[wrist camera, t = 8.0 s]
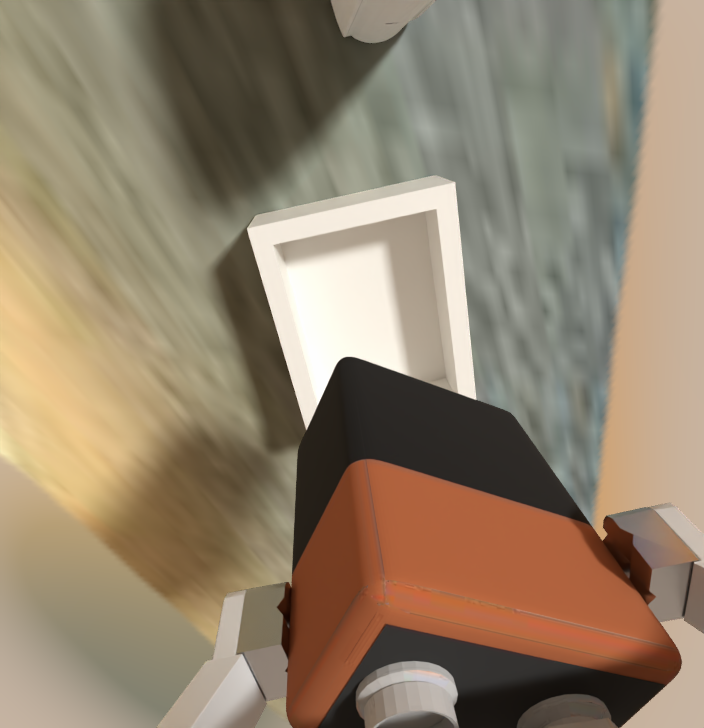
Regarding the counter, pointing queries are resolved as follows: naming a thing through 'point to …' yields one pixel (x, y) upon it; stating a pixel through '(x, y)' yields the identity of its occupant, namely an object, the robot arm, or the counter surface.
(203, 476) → the counter surface
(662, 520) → the robot arm
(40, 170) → the counter surface
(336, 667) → the battery
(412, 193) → the trough
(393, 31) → the photo printer
